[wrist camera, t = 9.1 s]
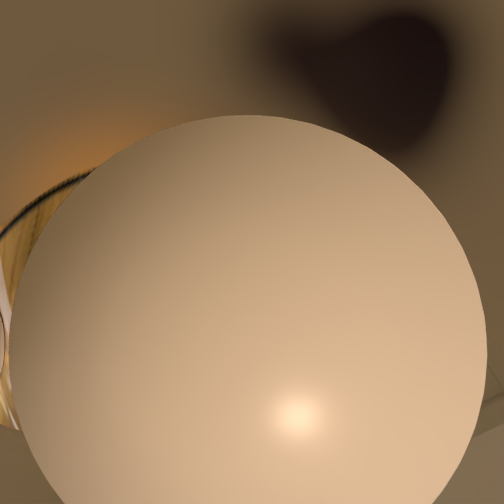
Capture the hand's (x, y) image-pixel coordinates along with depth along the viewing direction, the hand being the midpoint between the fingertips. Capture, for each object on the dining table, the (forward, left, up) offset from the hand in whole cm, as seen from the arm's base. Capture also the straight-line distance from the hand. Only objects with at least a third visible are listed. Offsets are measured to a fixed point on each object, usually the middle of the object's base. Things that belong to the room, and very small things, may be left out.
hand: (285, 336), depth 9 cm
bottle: (0, -1, -7) cm, 7 cm away
